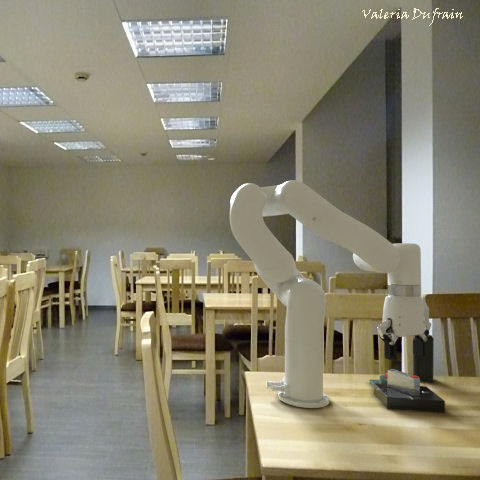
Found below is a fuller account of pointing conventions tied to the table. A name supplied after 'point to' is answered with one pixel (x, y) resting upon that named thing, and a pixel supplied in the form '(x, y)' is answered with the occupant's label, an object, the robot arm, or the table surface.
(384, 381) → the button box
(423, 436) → the table surface
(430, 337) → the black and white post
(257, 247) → the robot arm
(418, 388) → the grey rectangular block
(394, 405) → the panel
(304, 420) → the table surface
